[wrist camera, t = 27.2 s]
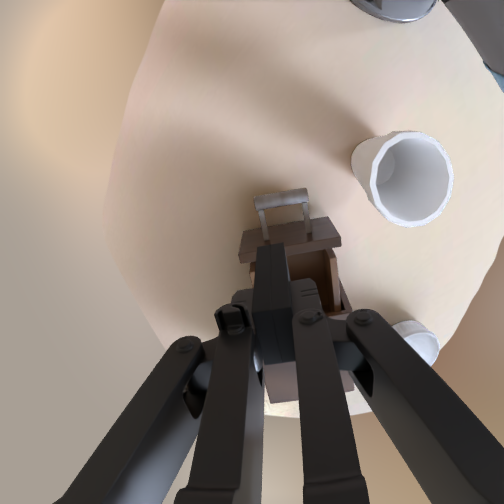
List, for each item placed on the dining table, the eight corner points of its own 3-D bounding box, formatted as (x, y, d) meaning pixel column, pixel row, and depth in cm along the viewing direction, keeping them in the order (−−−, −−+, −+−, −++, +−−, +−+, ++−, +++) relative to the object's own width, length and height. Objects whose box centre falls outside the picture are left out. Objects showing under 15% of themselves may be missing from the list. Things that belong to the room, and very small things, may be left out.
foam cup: (342, 199, 41) (371, 232, 29) (335, 130, 37) (364, 134, 25) (406, 192, 40) (453, 221, 28) (401, 126, 36) (452, 131, 24)
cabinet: (253, 290, 46) (250, 329, 38) (338, 275, 45) (353, 312, 36) (270, 362, 52) (270, 403, 43) (343, 350, 50) (354, 390, 41)
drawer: (234, 192, 40) (227, 208, 33) (322, 176, 39) (334, 189, 31) (262, 315, 47) (261, 348, 40) (337, 302, 46) (348, 334, 38)
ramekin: (435, 312, 47) (448, 329, 42) (419, 360, 51) (428, 379, 46) (378, 316, 47) (388, 335, 43) (366, 366, 52) (373, 386, 47)
